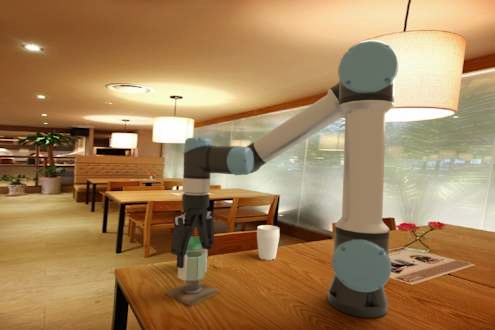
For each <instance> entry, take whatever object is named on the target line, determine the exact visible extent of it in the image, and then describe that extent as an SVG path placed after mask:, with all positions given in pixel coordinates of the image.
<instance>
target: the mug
mask: <svg viewBox="0 0 495 330" xmlns="http://www.w3.org/2000/svg"><path fill="white" fill-rule="evenodd" d="M199 248H202V246H201V242H200V238H199V236H191V237H190V240H189V244H188V247H187V250H186V251H189V250H198V251H199ZM181 251H182V250H181Z"/></svg>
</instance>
